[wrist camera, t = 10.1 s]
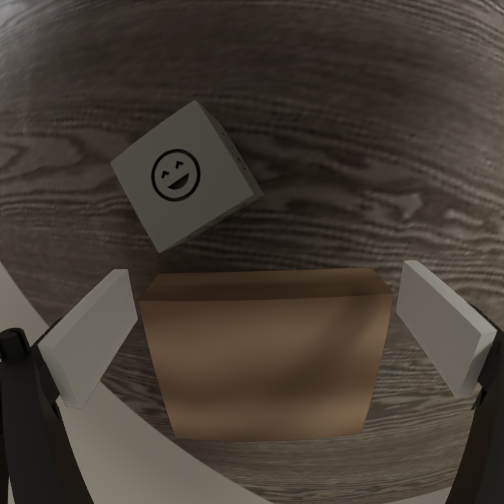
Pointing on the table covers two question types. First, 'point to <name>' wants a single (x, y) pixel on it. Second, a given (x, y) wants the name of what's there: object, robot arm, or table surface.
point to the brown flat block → (267, 351)
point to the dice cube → (184, 177)
